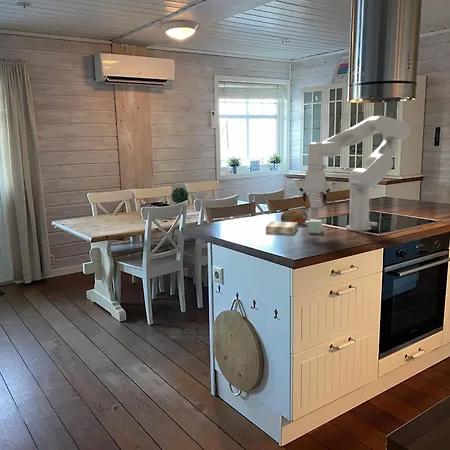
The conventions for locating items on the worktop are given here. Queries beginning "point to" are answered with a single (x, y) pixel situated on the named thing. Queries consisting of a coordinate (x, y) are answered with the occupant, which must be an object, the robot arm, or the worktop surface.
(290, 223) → the birch block
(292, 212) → the tin
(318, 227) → the sage cube
